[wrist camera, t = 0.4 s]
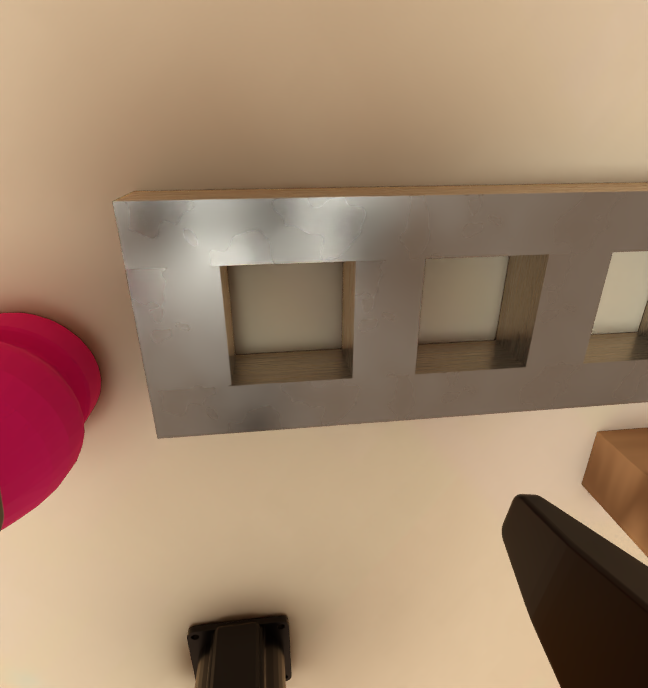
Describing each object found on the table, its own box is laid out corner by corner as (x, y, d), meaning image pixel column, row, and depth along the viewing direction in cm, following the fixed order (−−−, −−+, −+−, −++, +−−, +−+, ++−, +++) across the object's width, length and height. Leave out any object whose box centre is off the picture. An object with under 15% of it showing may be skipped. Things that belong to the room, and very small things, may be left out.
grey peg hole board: (681, 368, 26) (730, 395, 23) (170, 402, 23) (157, 438, 20) (750, 180, 22) (820, 187, 19) (133, 191, 19) (112, 201, 16)
